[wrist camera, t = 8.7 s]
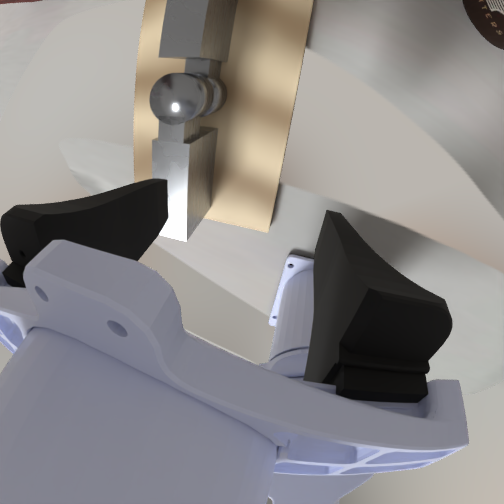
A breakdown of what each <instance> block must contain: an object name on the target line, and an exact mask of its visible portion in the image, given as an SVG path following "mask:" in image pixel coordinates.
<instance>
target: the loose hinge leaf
mask: <svg viewBox="0 0 504 504" xmlns="http://www.w3.org/2000/svg"><path fill="white" fill-rule="evenodd" d="M213 100H214V89H213V86H212V84H211V82H210V81H209V80H208V79H207V78H206V77H205V76H203V75H201V74H198V73H170V74H166V75H164V76H162V77H161V78H160V79H158V80H157V81H156V83H155V84H154V85H153V87H152V89H151V92H150V98H149V102H150V108H151V110H152V112H153V114H154V115H155V117H156V118H157V119H158V120H159V129H158V137H157V138H155V139H153V140H152V178H159V179H166V180H168V213H169V219H168V220H167V222H166V224H165V226H164V227H163V229H162V230H161V232H160V234H159V235H162V236H166V237H170V238H174V239H178V240H182V241H187V240H188V238H189V237H190V236H191V234H192V233H193V231H194V230H195V229H196V227H197V226H198V225H199V223H200V222H201V220H202V219H203V218H204V216H205V215H206V214H207V212H208V211H209V210H210V208H211V198H212V186H213V175H214V165H215V154H216V145H217V135H218V128H213V127H205V126H200V121H201V116H202V115H203V114H205V113H206V112H207V111H208V110H209V109H210V107H211V106H212V103H213Z"/></svg>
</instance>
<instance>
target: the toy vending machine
mask: <svg viewBox="0 0 504 504" xmlns="http://www.w3.org/2000/svg"><path fill="white" fill-rule="evenodd" d="M35 1H41V0H0V4H6V3H19V2H35Z"/></svg>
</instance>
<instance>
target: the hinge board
mask: <svg viewBox="0 0 504 504" xmlns="http://www.w3.org/2000/svg"><path fill="white" fill-rule="evenodd" d="M313 2H314V0H238V3H237V8H236V14H235V20H234V25H233V31H232V37H231V44H230V50H229V56H228V62H222V65H221V72H220V79H221V80H222V81H223V82H224V84H225V85H226V88H227V99H226V102H225V104H224V105H223V107H222V108H221V109H220V110H218V111H217V112H215V113H212V114H210V115H207V116H204V117H201V121H200V126H205V127H213V128H218V135H217V145H216V154H215V165H214V175H213V186H212V198H211V208H210V210H209V211H208V212H207V214H206V215H205V216H204V218H205V219H210V220H214V221H219V222H223V223H228V224H232V225H236V226H241V227H245V228H249V229H254V230H258V231H262V232H267V233H268V231H269V228H270V224H271V219H272V214H273V209H274V205H275V200H276V195H277V190H278V185H279V180H280V175H281V170H282V165H283V160H284V156H285V150H286V145H287V140H288V135H289V130H290V125H291V120H292V115H293V110H294V104H295V100H296V94H297V89H298V83H299V79H300V73H301V68H302V62H303V57H304V52H305V46H306V41H307V35H308V30H309V24H310V19H311V13H312V7H313ZM166 3H167V0H146V3H145V8H144V14H143V20H142V26H141V33H140V41H139V50H138V59H137V69H136V84H135V101H134V178H135V183H136V182H139V181H143V180H147V179H152V140H153V139H155V138H157V137H158V129H159V120H158V119H157V118H156V117H155V115H154V114H153V112H152V110H151V108H150V102H149V98H150V92H151V89H152V87H153V85H154V84H155V83H156V81H157V80H158V79H160V78H161V77H162V76H164V75H166V74H170V73H184V70H185V62H186V60H185V59H173V58H158V56H159V48H160V40H161V33H162V26H163V20H164V14H165V8H166Z"/></svg>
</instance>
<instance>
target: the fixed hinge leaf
mask: <svg viewBox="0 0 504 504" xmlns="http://www.w3.org/2000/svg"><path fill="white" fill-rule="evenodd" d="M237 3H238V0H167V3H166V8H165V14H164V20H163V26H162V33H161V40H160V48H159V56H158V58H173V59H185V60H186V62H185V70H184V73H198V74H201V75H203V76H205V77H206V78H207V79H208V80H209V81H210V82H211V84H212V86H213V89H214V100H213V103H212V106H211V107H210V109H209V110H208V111H207V112H206V113H205V114H203V115H202V116H201V117H204V116H207V115H210V114H212V113H215V112H217V111H218V110H220V109H221V108H222V107H223V105H224V104H225V102H226V99H227V88H226V85H225V84H224V82H223V81H222V80H221V79H220V72H221V65H222V62H228V56H229V50H230V44H231V37H232V31H233V25H234V20H235V14H236V8H237Z"/></svg>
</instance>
